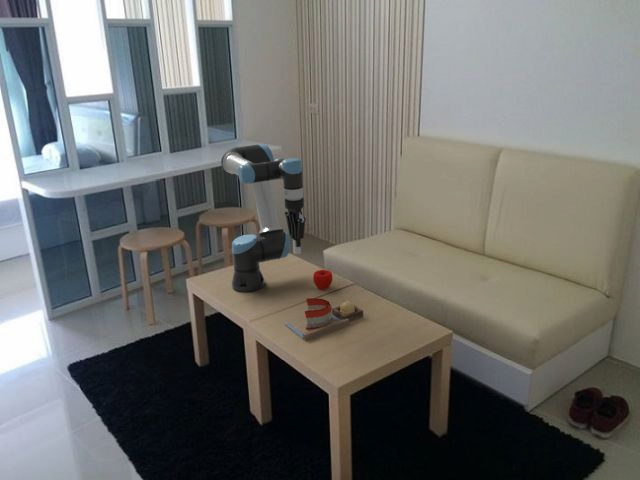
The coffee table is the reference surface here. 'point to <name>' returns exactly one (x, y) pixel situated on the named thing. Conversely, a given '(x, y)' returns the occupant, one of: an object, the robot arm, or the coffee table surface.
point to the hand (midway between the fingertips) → (297, 253)
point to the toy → (317, 313)
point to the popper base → (351, 316)
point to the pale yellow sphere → (347, 307)
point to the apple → (322, 279)
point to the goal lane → (321, 330)
